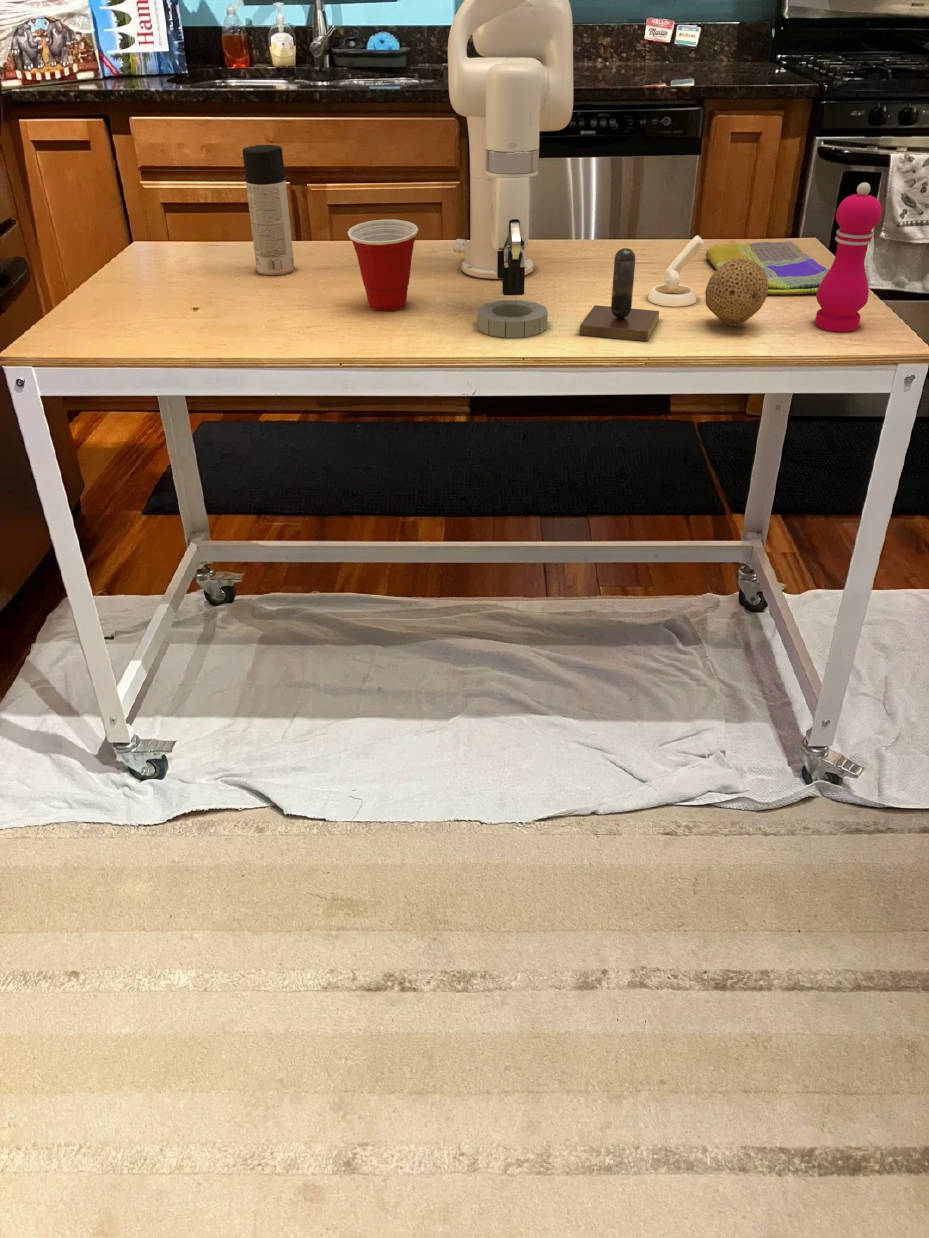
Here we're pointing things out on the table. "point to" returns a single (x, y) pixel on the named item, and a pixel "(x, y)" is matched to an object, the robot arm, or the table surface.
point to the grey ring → (512, 318)
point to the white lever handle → (677, 280)
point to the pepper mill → (848, 263)
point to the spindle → (621, 307)
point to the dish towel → (775, 265)
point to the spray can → (268, 209)
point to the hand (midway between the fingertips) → (510, 286)
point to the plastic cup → (385, 260)
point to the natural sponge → (736, 291)
